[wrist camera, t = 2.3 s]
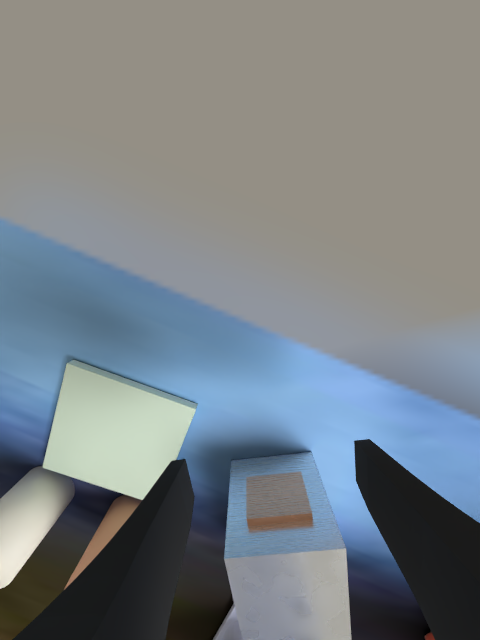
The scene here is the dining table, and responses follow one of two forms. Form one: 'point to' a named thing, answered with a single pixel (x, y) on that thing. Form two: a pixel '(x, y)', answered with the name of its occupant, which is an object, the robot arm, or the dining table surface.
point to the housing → (285, 552)
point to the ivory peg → (30, 516)
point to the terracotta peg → (106, 530)
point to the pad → (115, 430)
